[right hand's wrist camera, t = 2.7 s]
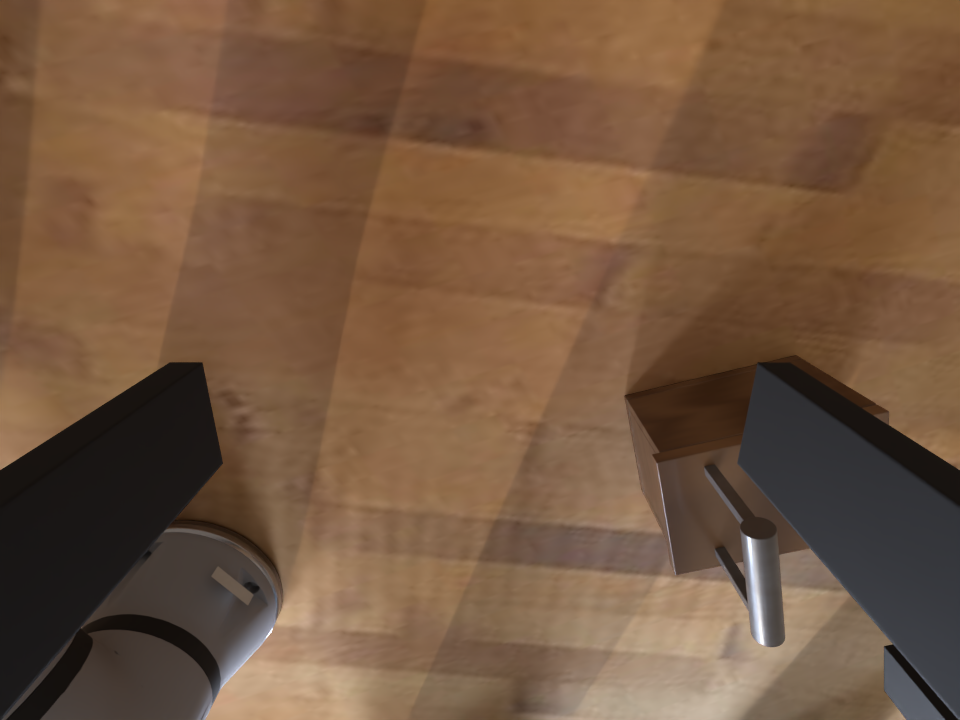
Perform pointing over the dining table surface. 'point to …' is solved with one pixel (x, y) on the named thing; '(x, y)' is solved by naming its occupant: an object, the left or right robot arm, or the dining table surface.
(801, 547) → the lid
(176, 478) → the right robot arm
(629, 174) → the dining table surface
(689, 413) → the chest
